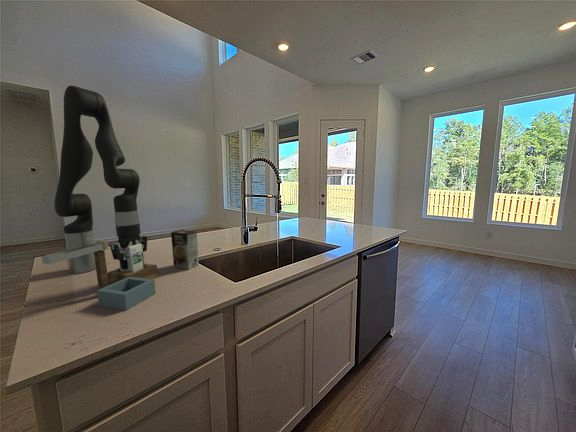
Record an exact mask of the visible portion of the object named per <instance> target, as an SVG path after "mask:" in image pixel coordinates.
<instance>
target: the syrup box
mask: <svg viewBox="0 0 576 432" xmlns="http://www.w3.org/2000/svg"><path fill="white" fill-rule="evenodd" d="M119 247H120V246H119ZM126 248H127V247H126ZM126 248H125V249H124V248H121V247H120V248H119V250H120V249H121V251H126ZM143 248H144V247H143ZM143 248H142V244H141V243H140V242H139V244H137V245H136V244H135V245H132V246H130V247H128V254H127V258H126V260H127V264H128V269H126V270H124V269H122V268H121V266H120V265H119V268H120V270H121V272H125V273H134V272H136V271H139V270H141V269H143V268H145V265H144V264H145V258H144V252H143ZM123 255H124V253H123ZM118 261H119V264H120V260H118Z"/></svg>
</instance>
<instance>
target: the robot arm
mask: <svg viewBox="0 0 576 432" xmlns="http://www.w3.org/2000/svg"><path fill="white" fill-rule="evenodd" d="M82 116H85V117H91V118H94V119H95V120H96V123H97V125H98V130H97V133H96V135H95V137H94V138H95V139H94V146H95V149H96V150H97V154H98V155H99V157H100V159H101V162H102V169H103V179H104V182H105V184H106V185H107V186H108V187H110V188H111V189H115V190H116V189H118V190H119V189H124V190H123V193H121V194H118V195H115V196H114V197H113V206H114V223H115V224H114V225H115V232H116V236H117V239H118V240H117V242H115V243H111V244H110V245H109V249H110V252H111V254H112V255H111V256H112V258H113V260H118V261H119V260H120V263H119V267H120V266H121V268H122V269H124V270H126V269H128V264H127V260H126V258H127V254H128V247H130V246H132V245H135V244H136V245H137V244H139V243H141V244H142V248H143V253H144V252H146V251H147V250H148V249H147V248H148V236H145V235H144V236H143V235H141V223H140V216H139V211H138V204H137V198H138V194H139V188H140V182H141V180H140V179H141V178H140V176H139V173H138V171H136V170H134V169H132V168H119V167H121V166H122V165H124V164H125V162H126V158H125V155H124V153H123V151H122V149H121V146H120V145H119V142H118V141H117V138H116V135H115V131H114V128H113V123H112V120H111V116H110V112H109V108H108V105H107V103H106V100H105V98H104V97H103V96H102V95H101V94H100V93H98V92H96V91H93V90H90V89H86V88H83V87H80V86H76V85H68V86H67V87H66V88H65V90H64V94H63V134H62V137H63V138H62V144H61V152H60V153H61V154H60V167H59V178H58V183H57V188H56V192H55V197H54V205H53V206H54V210H55V213H56V214H57V216H58V217H62V218H69V217H76V219H75V220H74V221H73V222H70V223H69V224H66V225H65V226H63V232H64V239H65V244H66V250H70V249H74V248H78V247H82V246H86V245H90V244H94V243H95V237H94V230H93V225H94V218H93V217H94V216H93V207H92V205H93V204H92V201H91V199H90V197H89V196H88V194H86V193H73V192H74V190H75V187H76V186H77V185H78V184H79V182H80V181H81V180H82V179H83V178H84V177H85V176H86V175H87V174H88V173H89V172H90V170H91V168H92V164H93V157H94V151H93V148H92V146H91V144H90V142H89V141H88V139H87V136H85V134H84V131H83V129H82V126H81V125H82V124H81V117H82ZM120 247H121V248H124V249H125V248H126V247H127V248H126V251H121V249H120V250H119V248H120ZM123 253H124V255H123ZM67 266H68V271H69V273H70V274H84V273H88V272H91V271H94V270H95V271H96V265H95V258H94V252H92V253H89V254H85V255H82V256H78V257H75V258H71V259H67Z"/></svg>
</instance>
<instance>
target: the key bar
mask: <svg viewBox="0 0 576 432" xmlns="http://www.w3.org/2000/svg"><path fill="white" fill-rule="evenodd" d="M99 250H104V251H106V250H109V242H108V241H107V240H106V241H103V240H97V241H95V242H94V244H90V245H86V246H82V247H78V248H74V249H70V250H67V249H65V250H62V251H59V252H58V251H57V252H54V253H50V254H47V255H42V256H41V261H42V264H45V265H53V264H57V263H60V262H63V261H68V259H71V258H75V257H78V256H82V255H85V254H89V253H92V252H96V251H99Z"/></svg>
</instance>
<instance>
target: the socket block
mask: <svg viewBox="0 0 576 432" xmlns="http://www.w3.org/2000/svg"><path fill="white" fill-rule="evenodd" d="M94 258H95V265H96V269H95V272H96V278H97V286H98V290H99V289H102V288H104V287H106V286H108V285H111V284H113V283H115V282H118V281H120V280H122V279H125V278H127V277H136V278H144V279H152V280H155V279H156V278H158V277H159V275H158V274H159V273H158V265H157V264H151V263H144V265H145V268H143V269H141V270H139V271H136V272H134V273H125V272H121V270H120V267H119V268H115V269H113V270H110V271H108V270H107V260H106V255H105V250H99V251H96V252H94Z"/></svg>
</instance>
